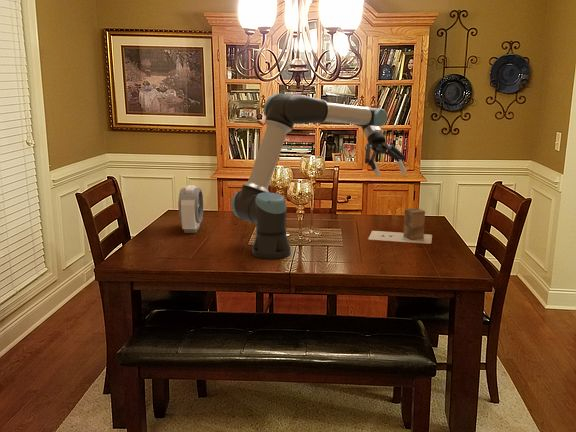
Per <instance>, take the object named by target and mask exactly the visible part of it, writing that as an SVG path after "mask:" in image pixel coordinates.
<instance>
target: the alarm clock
mask: <svg viewBox="0 0 576 432" xmlns="http://www.w3.org/2000/svg"><path fill="white" fill-rule="evenodd" d="M177 203H178V208H177V209H178V216H179V221H180V222H181V229H182V230H183V233H186V234H187V233H188V234H190V233H191V234H193V233H195V234H196V233H197V232H198V231H199V229H200V227H201V223H202V221H203V217H204V195H203V189H201V188H199V187H197V186H196V185H193V184H189V185H187V186H186V187H182V188H180V190H179V194H178V202H177ZM197 230H198V231H197Z"/></svg>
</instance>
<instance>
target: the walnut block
mask: <svg viewBox="0 0 576 432" xmlns="http://www.w3.org/2000/svg"><path fill="white" fill-rule="evenodd" d="M403 218H404V219H403V233H404V235H403V237H405V238H408V239H410V240H417V239H424V234H425V221H426V220H425V219H426V210H423V209H420V208H417V207H413V208H405V209H404V217H403Z"/></svg>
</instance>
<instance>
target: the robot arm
mask: <svg viewBox="0 0 576 432" xmlns="http://www.w3.org/2000/svg"><path fill="white" fill-rule="evenodd" d="M263 112H264V116H265V120H264V123H265V125H266V128H265V131H264V134H263V137H262V140H261V142H260V146H259V148H258V151H257V154H256V158H255V160H254V162H253V166H252V168H251V172H250V174H249V178H248V180H247V182H244V183H243V184H242V186H241V190H238V191H237V192H235V194H234V193H233V197H232V198H231V204H230V205H231V210H232V213H233V214H234V215H235V216H236V217H237V218H239V219H241V220H242V221H247V222H250V223H253V224H256V228H255V229H256V234H255V238H254V241H253V244H252V248H251V250H252V251H251V252H252V255H253V256H254V257H255V258H258V259H263V260H264V259H265V260H266V259H267V260H276V259H284V258H287V257H289V256H290V255H291V251H292V250H291V245H290V242H289V239H288V236H287V235H288V234H287V208H288V207H287V202H286V198H285V196H283V195H282V194H279V193H276V192H270V191H269V186H270V183H271V181H272V178H273V175H274V171H275V168H276V165H277V162H278V160H279V157H280V154H281V152H282V149H283V144H284V143H285V141H286V137H287V134H289V133H291V132H292V130H293V127H294V125H306V124H323V123H324V122H328V123H329V122H330V123H339V124H351V125H355V126H358V127H360V128H361V130H362V131H363V134H364V136H365V138H366V140H367V144H366V145H365V146H364V149H365V156H364V163H365V164H366V165H368V166H370V168H371V170H373V172H374V174H375V176H376V178H379V176H380V175H381V171H380V168H379V166H378V164H377V161H376V160H375V158H376V155H377V154H378V155H381V154H382V155H384V154H385V155H386V156H389V157H390V158H392V159H393V160H394V161H396V162H397V163H396V164H397V167H398V168H399V170H400V172H401V175H402V176H405V175H406V173H407V169H406V164H405V162H404V161H405V159H406V156H405V155H404V154H403V153H402V152H401V151H400V150H399V149H398V148H397V147H396V146H395V145H394V142H390V143H389V144H388V143H387V142H386V141H387V140H386V138H385V135H384V133H383V131H382V128H381V127H383V126H385V124H386V123H387V120H388V113H387V111H386V110H385V109H383V108H379V107H376V108H375V107H370V106H367V105H366V106H357V105H351V104H342V103H335V102H327V101H326V100H324V99H322V98H315V97H311V96H308V95H304V94H297V93H294V94H293V93H284V92H283V93H281V92H280V93H275V94H272V95H271V96H269V97H268V98H267V100H266V101H265V103H264V107H263ZM371 150H372V151H373V152H372V154H371Z"/></svg>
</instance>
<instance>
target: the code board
mask: <svg viewBox="0 0 576 432" xmlns="http://www.w3.org/2000/svg"><path fill="white" fill-rule="evenodd" d="M403 235H404V232H398V231H396V232H395V231H382V230H381V231H380V230H371V233H370V235H369V236H368V238H367V240H370V241H383V242H384V241H386V242H398V243H399V242H402V243H415V244H425V245H426V244H429V245H430V244H432V241H433V240H432V238H433V234H427V233H424V239H417V240H410V239H408V238H405V237H403Z"/></svg>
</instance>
